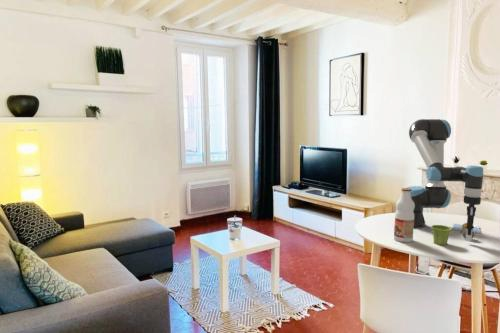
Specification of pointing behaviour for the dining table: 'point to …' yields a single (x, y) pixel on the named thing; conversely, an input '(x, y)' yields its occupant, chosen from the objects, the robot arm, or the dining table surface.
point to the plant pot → (440, 234)
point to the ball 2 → (465, 234)
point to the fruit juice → (404, 217)
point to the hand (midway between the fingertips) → (468, 240)
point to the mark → (459, 227)
